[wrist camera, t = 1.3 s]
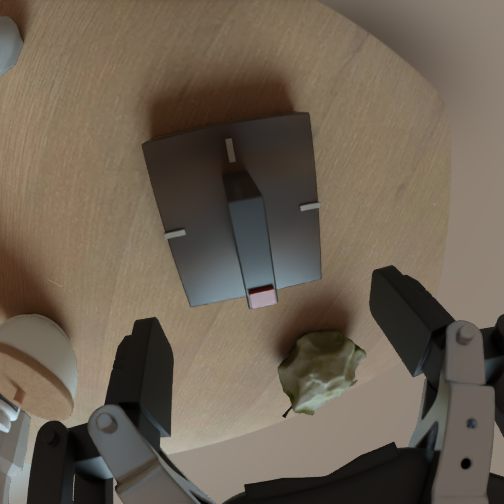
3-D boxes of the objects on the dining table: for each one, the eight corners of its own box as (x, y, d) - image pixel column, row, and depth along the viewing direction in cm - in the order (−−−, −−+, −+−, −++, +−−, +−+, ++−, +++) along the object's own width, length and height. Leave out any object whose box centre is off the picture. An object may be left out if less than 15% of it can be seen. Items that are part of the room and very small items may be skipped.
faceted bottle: (40, 421, 33) (21, 522, 13) (26, 423, 33) (8, 515, 14) (13, 401, 30) (-13, 505, 10) (1, 404, 30) (-23, 498, 11)
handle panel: (149, 139, 17) (138, 144, 15) (296, 111, 18) (312, 112, 15) (190, 285, 23) (189, 309, 20) (310, 259, 24) (323, 280, 21)
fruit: (280, 376, 33) (281, 430, 26) (274, 319, 29) (274, 378, 22) (353, 368, 32) (366, 419, 25) (361, 309, 28) (383, 364, 21)
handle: (221, 175, 16) (226, 204, 12) (248, 170, 16) (264, 196, 12) (238, 262, 19) (249, 312, 15) (262, 257, 19) (279, 306, 15)
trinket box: (-1, 326, 22) (-32, 384, 14) (24, 276, 20) (-23, 344, 12) (66, 378, 27) (49, 440, 19) (106, 343, 25) (86, 421, 17)
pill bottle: (-2, 358, 25) (-24, 406, 17) (27, 374, 27) (9, 426, 19) (2, 377, 27) (-16, 421, 19) (30, 392, 28) (15, 439, 21)
